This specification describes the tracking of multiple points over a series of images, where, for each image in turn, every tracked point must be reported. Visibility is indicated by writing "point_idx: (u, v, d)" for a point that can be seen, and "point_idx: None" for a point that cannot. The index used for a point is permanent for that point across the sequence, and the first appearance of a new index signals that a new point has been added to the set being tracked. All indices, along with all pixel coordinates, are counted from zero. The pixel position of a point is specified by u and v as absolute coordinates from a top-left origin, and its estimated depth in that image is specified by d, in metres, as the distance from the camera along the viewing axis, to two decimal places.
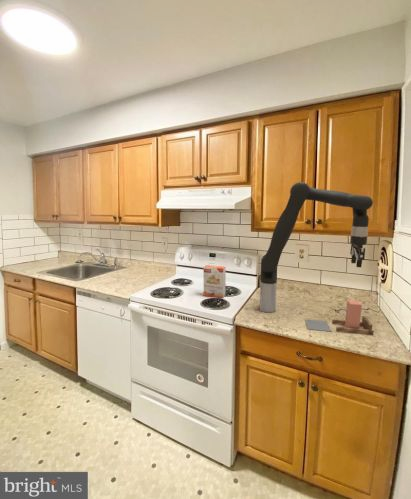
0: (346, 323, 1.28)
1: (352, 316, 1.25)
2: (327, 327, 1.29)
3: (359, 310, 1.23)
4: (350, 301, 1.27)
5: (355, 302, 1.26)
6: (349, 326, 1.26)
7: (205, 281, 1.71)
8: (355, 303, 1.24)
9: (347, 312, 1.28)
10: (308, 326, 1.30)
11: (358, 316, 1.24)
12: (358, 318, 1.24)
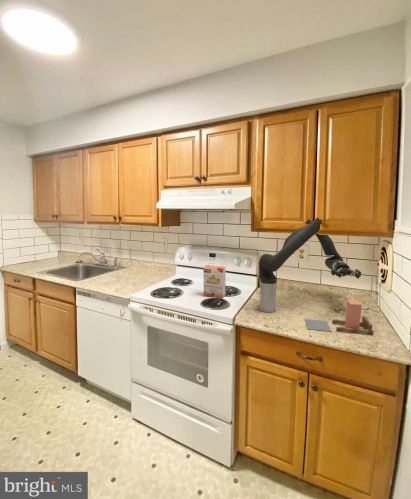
0: (346, 323, 1.28)
1: (352, 316, 1.25)
2: (327, 327, 1.29)
3: (359, 310, 1.23)
4: (350, 301, 1.27)
5: (355, 302, 1.26)
6: (349, 326, 1.26)
7: (205, 281, 1.71)
8: (355, 303, 1.24)
9: (347, 312, 1.28)
10: (308, 326, 1.30)
11: (358, 316, 1.24)
12: (358, 318, 1.24)
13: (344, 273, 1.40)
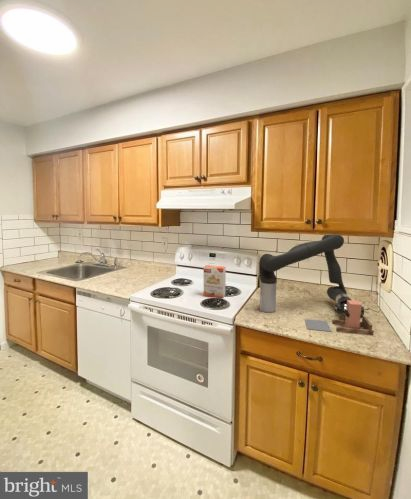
0: (346, 323, 1.28)
1: (352, 316, 1.25)
2: (327, 327, 1.29)
3: (359, 310, 1.23)
4: (350, 301, 1.27)
5: (355, 302, 1.26)
6: (349, 326, 1.26)
7: (205, 281, 1.71)
8: (355, 303, 1.24)
9: None
10: (308, 326, 1.30)
11: (358, 316, 1.24)
12: (358, 318, 1.24)
13: None
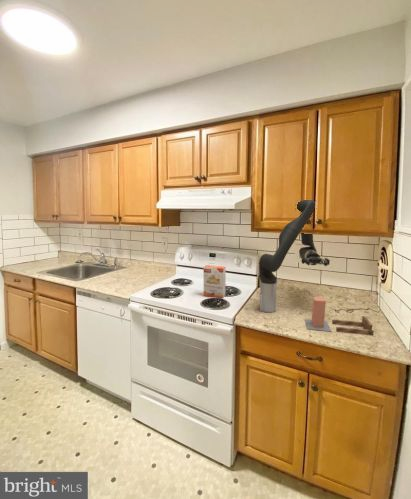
0: (312, 319, 1.32)
1: (317, 312, 1.28)
2: (327, 327, 1.29)
3: (323, 306, 1.27)
4: (315, 298, 1.31)
5: (320, 299, 1.29)
6: (315, 322, 1.29)
7: (205, 281, 1.71)
8: (319, 300, 1.28)
9: (313, 308, 1.31)
10: (308, 326, 1.30)
11: (322, 312, 1.28)
12: (322, 314, 1.28)
13: (313, 261, 1.43)
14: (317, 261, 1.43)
